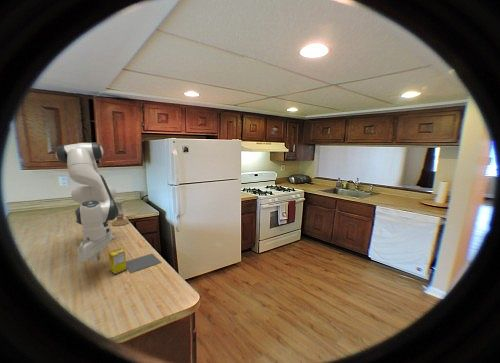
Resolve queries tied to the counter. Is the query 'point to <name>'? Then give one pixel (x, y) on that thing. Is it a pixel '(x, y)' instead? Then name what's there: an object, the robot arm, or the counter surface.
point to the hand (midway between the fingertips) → (96, 260)
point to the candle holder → (120, 214)
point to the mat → (142, 263)
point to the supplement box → (117, 261)
